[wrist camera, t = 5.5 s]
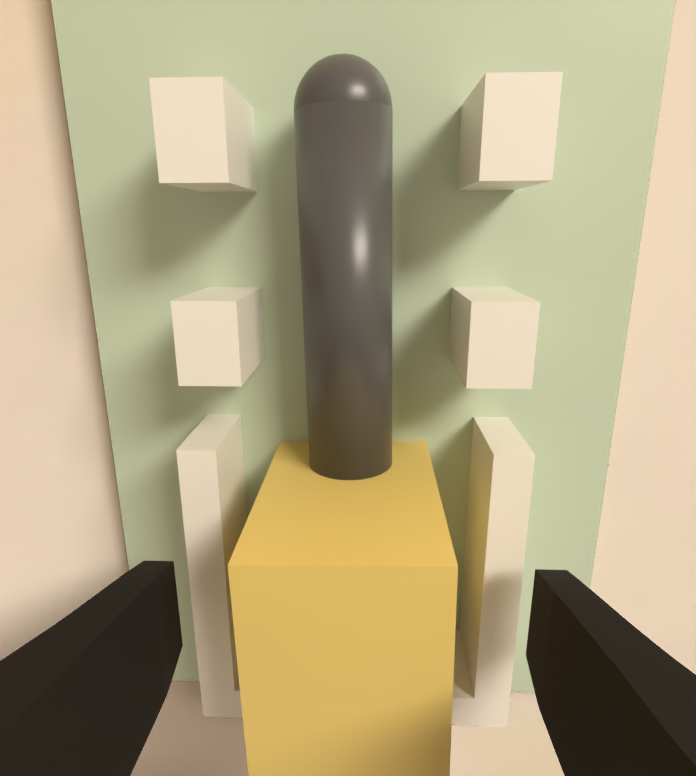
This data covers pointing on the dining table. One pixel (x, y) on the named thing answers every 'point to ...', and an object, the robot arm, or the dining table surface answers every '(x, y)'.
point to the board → (409, 277)
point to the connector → (346, 491)
